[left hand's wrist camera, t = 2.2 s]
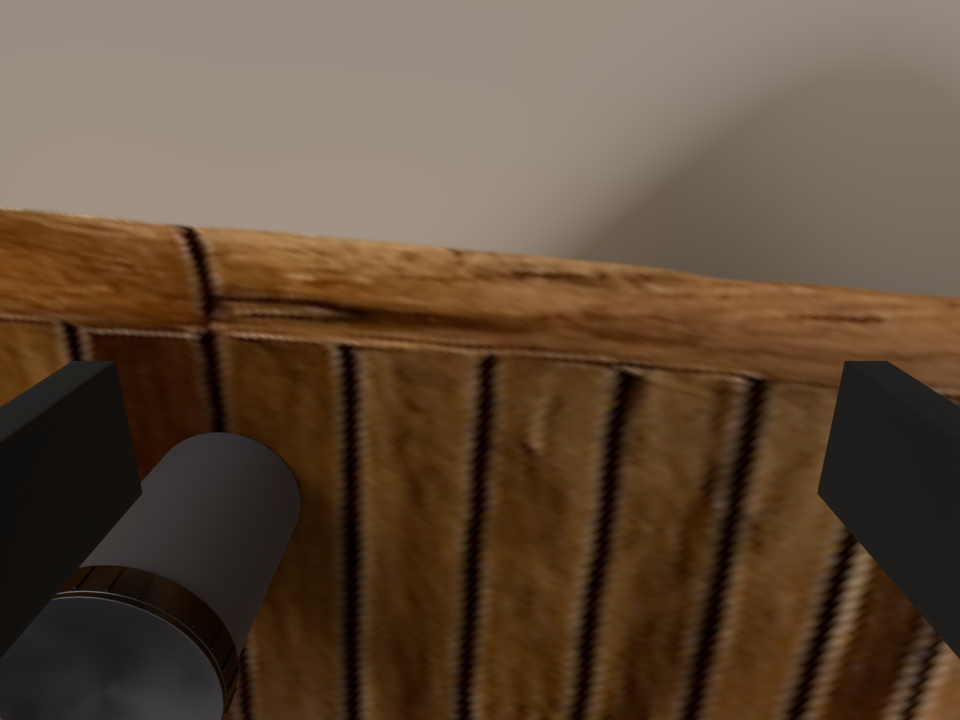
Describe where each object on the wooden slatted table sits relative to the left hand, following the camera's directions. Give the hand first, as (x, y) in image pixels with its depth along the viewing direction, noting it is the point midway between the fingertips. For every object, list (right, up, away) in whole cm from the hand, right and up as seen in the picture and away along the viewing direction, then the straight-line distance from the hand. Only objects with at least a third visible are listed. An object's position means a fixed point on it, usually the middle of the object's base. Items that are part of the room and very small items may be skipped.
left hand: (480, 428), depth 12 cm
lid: (-17, -14, +18) cm, 28 cm away
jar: (-17, -8, +33) cm, 38 cm away
